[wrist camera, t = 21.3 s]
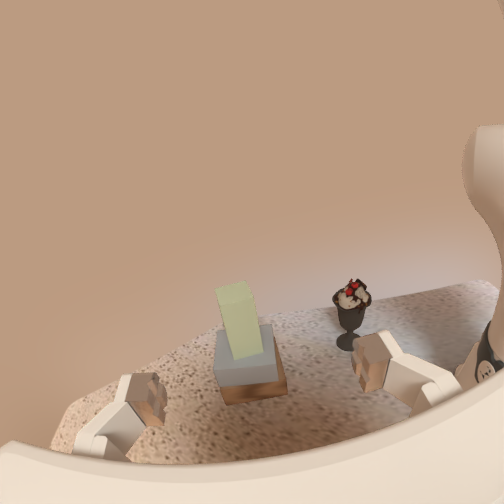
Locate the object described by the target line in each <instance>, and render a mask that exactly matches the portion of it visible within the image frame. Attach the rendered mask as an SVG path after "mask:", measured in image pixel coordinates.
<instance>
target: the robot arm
mask: <svg viewBox="0 0 504 504" xmlns="http://www.w3.org/2000/svg"><path fill="white" fill-rule="evenodd" d="M498 2H499V5H500V8H501V11H502V14H503V17H504V0H498ZM462 175H463V181H464V186H465V189H466V193H467V195H468V197H469V199H470V201H471V203H472V205H473V206H474V208H475V210H476V211H477V212H478V213H479V214H480V215H481V216H482V218H483V219H484V220H485V222H486V223H487V225H488V226H489V228H490V230H491V232H492V234H493V236H494V238H495V241H496V243H497V246H498V249H499V253H500V258H501V264H502V281H501V287H500V292H499V297H498V301H497V305H496V308H495V311H494V315H493V317H492V320H491V321H490V322H489V323H488V325H487V327H486V329H485V330H484V332H483V334H482V337H481V339H480V341H479V342H476V343H475V344H474V346H473V348H472V350H471V352H470V354H469V355H468V357H467V359H466V361H465V363H464V364H460V365H458V367H457V368H456V370H455V374H454V376H453V374H452V373H451V372H450V371H447V370H445V369H443V368H440V367H438V366H436V365H434V364H431V363H429V362H427V361H424V360H422V359H420V358H418V357H415V356H413V355H411V354H409V353H406V354H404V352H403V351H402V349H401V348H400V346H399V345H398V344H397V342H396V341H395V339H394V338H393V336H392V335H391V333H390V332H389V331H388V330H383V331H380V332H376V333H373V334H370V335H366V336H363V337H359V338H356V339H354V340H353V345H352V346H353V348H354V351H353V352H352V356H351V360H352V366H353V369H354V372H355V374H356V375H358V376H360V379H359V383H360V385H361V387H362V389H363V391H364V393H367V392H370V391H373V390H377V389H380V388H383V389H384V390H386V391H387V392H389V393H390V394H392V395H393V396H395V397H396V398H398V399H399V400H401V401H402V402H404V403H405V404H407V405H408V406H410V407H411V408H413V409H412V411H411V413H410V415H409V418H408V419H405V420H403V421H400V422H398V423H395V424H392V425H390V426H387V427H384V428H382V429H379V430H376V431H373V432H370V433H367V434H364V435H361V436H358V437H354V438H351V439H348V440H344V441H341V442H337V443H333V444H330V445H326V446H322V447H317V448H313V449H309V450H304V451H299V452H294V453H289V454H284V455H278V456H272V457H266V458H259V459H251V460H243V461H233V462H221V463H204V464H150V463H134V462H132V461H131V460H130V459H128V458H127V457H126V456H125V455H126V454H127V452H128V451H129V450H130V448H131V447H132V446H133V444H134V443H135V442H136V440H137V439H138V438H139V436H140V435H141V434H142V432H143V431H144V430H145V428H146V426H164V423H165V415H166V413H165V412H164V410H163V409H164V408H165V407H166V406H167V392H166V389H165V387H164V385H163V384H161V383H159V379H160V378H159V376H158V375H157V373H129V374H123V375H122V376H121V379H120V382H119V385H118V388H117V392H116V395H115V398H114V402H110V403H109V404H108V405H107V406H106V407H105V408H104V409H102V410H101V411H100V412H99V413H98V414H97V415H96V416H95V417H94V418H93V419H92V420H91V421H90V422H88V423H87V424H86V425H85V426H84V427H83V428H82V429H81V430H80V431H79V432H78V433H77V437H76V440H75V443H74V446H73V450H72V453H71V454H69V453H64V452H59V451H55V450H50V449H46V448H42V447H38V446H34V445H31V444H28V443H24V442H21V441H18V440H11V441H10V442H8V443H6V444H5V445H3V446H2V447H1V448H0V504H504V124H495V125H484V126H479V127H478V128H477V129H476V130H475V131H474V132H473V134H472V135H471V136H470V138H469V140H468V142H467V144H466V147H465V150H464V153H463V160H462Z"/></svg>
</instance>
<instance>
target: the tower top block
mask: <svg viewBox="0 0 504 504" xmlns="http://www.w3.org/2000/svg"><path fill="white" fill-rule="evenodd" d="M259 328H260V334H261V339H262V345H263V350H264V352H262V353H259V354H255V355H252V356H248V357H245V358H241V359H237V360H234V358H233V355H232V351H231V348H230V345H229V341H228V338H227V334H226V330H219V331H218V332H217V341H216V349H215V358H214V367H213V371H214V374H215V377H216V379H217V382H218V385H219V387H226V386H238V385H248V384H258V383H267V382H275V381H279V379H278V370H277V361H276V352H275V343H274V336H273V330H272V324H269V325H261V326H259Z"/></svg>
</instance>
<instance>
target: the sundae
mask: <svg viewBox="0 0 504 504" xmlns="http://www.w3.org/2000/svg"><path fill="white" fill-rule="evenodd" d="M366 288H367V286H366V285H365V284H364V283H363V282H361V281H360V280H359V279H357V280H356V281H355V282H352V279H351V280H350V281H349V284H348V285H347V286H346V287H345V288H343V289H340V290H339V291H338V292H336V294H335V295H334V296H333V298H332V300H333V302H334V304H335V305H336V306H337V309H338V316H339V321H340V325H341V326H342V327H343V328H344V329H345V330H347V333H345V334H342V335H340V336H339V337H338V339H337V346H338V347H339V348H340V349H342V350H345V351H354V348H353V346H352V345H353V340H354V339H356V338H359V337H360V336H359V335H357V334H355V333H353V331H354V330H355V329H357V328H359V327H360V326H361V324H362V321H363V318H364V313H365V309H366V307H368V306H369V305H370V304H371V301H372V300H371V295H370V294H369V293H368V292H367V291H365V290H366Z"/></svg>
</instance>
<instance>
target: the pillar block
mask: <svg viewBox="0 0 504 504" xmlns="http://www.w3.org/2000/svg"><path fill="white" fill-rule="evenodd" d="M215 293H216V296H217V300H218V304H219V308H220V312H221V316H222V319H223V323H224V327H225V330H226V334H227V338H228V341H229V345H230V348H231V351H232V355H233V358H234V360H237V359H241V358H245V357H248V356H252V355H255V354H259V353H262V352H264V350H263V345H262V339H261V334H260V328H259V323H258V317H257V312H256V306H255V301H254V297H253V294H252V292H251V291H250V288H249V286H248V284H247V282H246V281H242V282H239V283H235V284H231V285H227V286H223V287H219V288H215Z"/></svg>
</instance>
